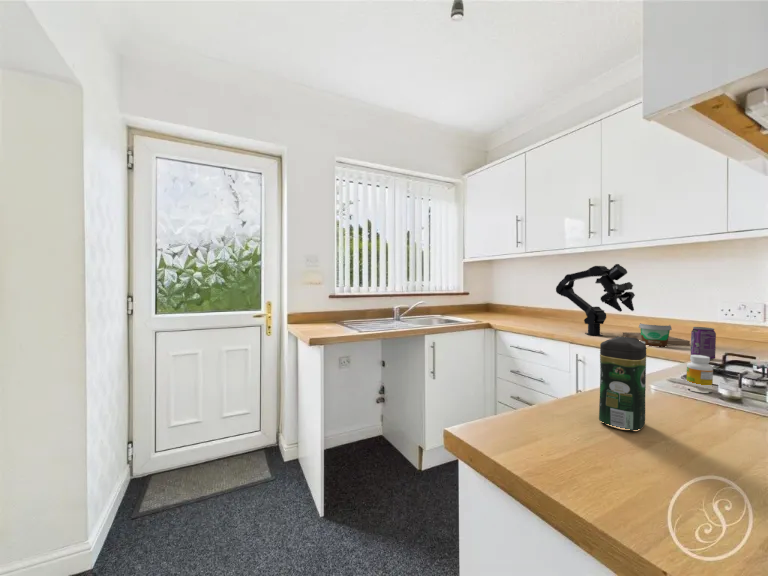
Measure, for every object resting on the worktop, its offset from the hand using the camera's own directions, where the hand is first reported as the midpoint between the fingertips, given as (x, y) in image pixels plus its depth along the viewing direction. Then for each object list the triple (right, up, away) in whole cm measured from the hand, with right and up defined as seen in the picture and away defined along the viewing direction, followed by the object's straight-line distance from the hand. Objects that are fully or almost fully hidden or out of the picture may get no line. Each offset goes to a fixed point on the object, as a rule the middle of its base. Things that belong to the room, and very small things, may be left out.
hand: (627, 310), depth 173 cm
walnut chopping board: (+14, -15, +1) cm, 21 cm away
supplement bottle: (-35, -17, -77) cm, 86 cm away
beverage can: (+3, -16, -38) cm, 41 cm away
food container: (+3, -16, -14) cm, 21 cm away
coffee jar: (-72, -18, -99) cm, 123 cm away
